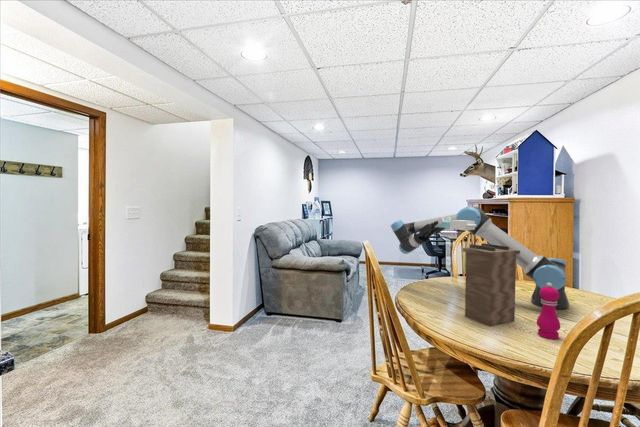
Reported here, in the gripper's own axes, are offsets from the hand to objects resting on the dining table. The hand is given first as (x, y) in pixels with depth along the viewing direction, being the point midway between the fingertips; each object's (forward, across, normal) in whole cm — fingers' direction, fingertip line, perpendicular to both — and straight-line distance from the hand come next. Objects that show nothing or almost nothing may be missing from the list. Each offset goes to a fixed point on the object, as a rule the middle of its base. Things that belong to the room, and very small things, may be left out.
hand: (446, 219), depth 158 cm
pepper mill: (+19, -5, -59) cm, 63 cm away
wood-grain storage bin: (+1, 0, -49) cm, 49 cm away
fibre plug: (+3, 0, -6) cm, 7 cm away
